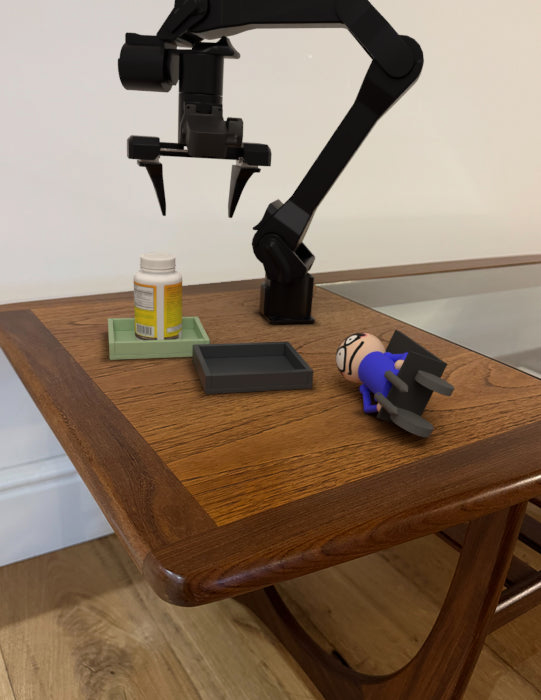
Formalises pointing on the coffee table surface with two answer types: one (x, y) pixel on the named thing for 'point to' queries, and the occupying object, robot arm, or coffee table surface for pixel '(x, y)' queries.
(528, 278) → the coffee table surface
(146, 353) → the sage tray
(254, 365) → the charcoal tray
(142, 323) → the supplement bottle
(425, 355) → the character figurine
